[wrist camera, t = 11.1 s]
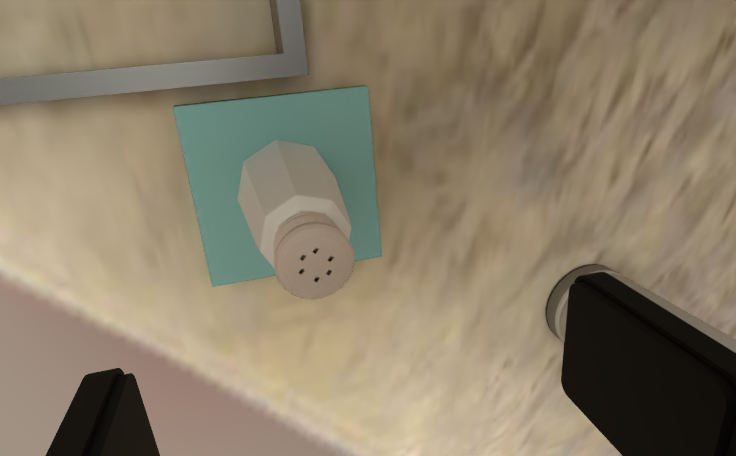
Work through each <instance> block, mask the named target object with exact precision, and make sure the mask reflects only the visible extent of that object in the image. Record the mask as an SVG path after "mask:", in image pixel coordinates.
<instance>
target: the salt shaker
mask: <svg viewBox="0 0 736 456" xmlns="http://www.w3.org/2000/svg"><path fill="white" fill-rule="evenodd" d="M238 201H239V204H240V206H241V209H242V211H243V214H244V216H245V218H246V221H247V223H248V226H249V228H250V231H251V233H252V236H253V238H254V240H255V243H256V245H257V247H258V248H259V250H260V252H261V253H262V254H263V256H264V257H265V258H266V259H267V261H268V262H269V263H270V264H271V265H272V267H273V268H274V269H275V274H276V276H277V279H278V281H279V283H280V284H281V285H282V286H283V287H284V289H285V290H287V291H288V292H290V293H291V294H293V295H295V296H298V297H301V298H306V299H317V298H323V297H326V296H328V295H331V294H333V293H335V292H336V291H337V290H339V289H340V288H342V286H343V285H344V284H345V283H346V282H347V281H348V279H349V277H350V275H351V274H352V272H353V267H354V263H355V258H354V250H353V247H352V245H351V243H350V241H349V238H350V233H351V229H352V228H351V222H350V219H349V216H348V213H347V210H346V207H345V205H344V202H343V199H342V196H341V193H340V190H339V187H338V184H337V181H336V178H335V176H334V175H333V173H332V172H331V170H330V169H329V167H328V166H327V164H326V163H325V161H324V160H323V159H322V157H321V156H320V154H319V153H318V151H317V150H316V148H315V147H314V146H309V145H304V144H298V143H293V142H288V141H282V140H277V139H276V140H274V141H273V142H271V143H270V144H268V145H267V146H265V147H264V148H262V149H261V150H259V151H258V152H257V153H255V154H254V155H252V156H251V157H249V158H248V159H246V160H245V161H243V167H242V173H241V180H240V187H239V193H238Z"/></svg>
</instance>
